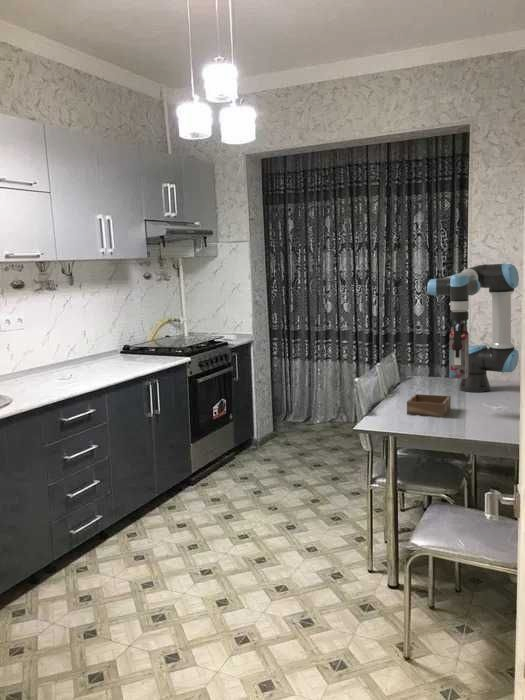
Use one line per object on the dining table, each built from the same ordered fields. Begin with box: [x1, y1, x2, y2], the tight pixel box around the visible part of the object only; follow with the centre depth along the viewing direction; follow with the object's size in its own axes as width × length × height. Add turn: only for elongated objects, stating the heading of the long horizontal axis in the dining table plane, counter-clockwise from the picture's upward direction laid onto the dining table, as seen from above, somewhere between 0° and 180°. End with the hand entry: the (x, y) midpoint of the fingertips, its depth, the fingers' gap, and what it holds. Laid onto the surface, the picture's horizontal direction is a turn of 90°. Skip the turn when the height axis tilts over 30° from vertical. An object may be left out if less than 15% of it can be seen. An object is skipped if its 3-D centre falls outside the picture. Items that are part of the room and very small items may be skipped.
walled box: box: [406, 393, 452, 418], centre depth 266 cm, size 16×16×6 cm
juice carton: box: [448, 326, 470, 380], centre depth 256 cm, size 7×7×22 cm
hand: (458, 363), depth 257 cm, fingers closed on juice carton, 7 cm apart
